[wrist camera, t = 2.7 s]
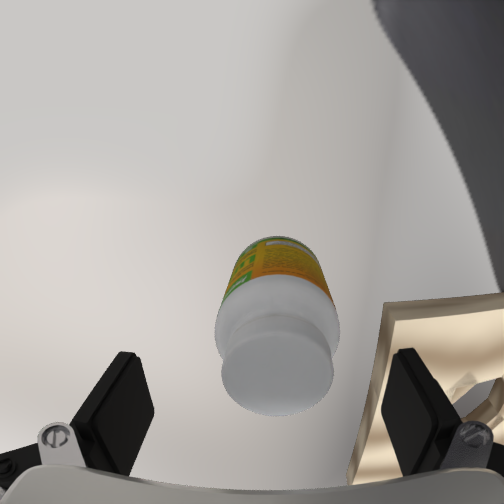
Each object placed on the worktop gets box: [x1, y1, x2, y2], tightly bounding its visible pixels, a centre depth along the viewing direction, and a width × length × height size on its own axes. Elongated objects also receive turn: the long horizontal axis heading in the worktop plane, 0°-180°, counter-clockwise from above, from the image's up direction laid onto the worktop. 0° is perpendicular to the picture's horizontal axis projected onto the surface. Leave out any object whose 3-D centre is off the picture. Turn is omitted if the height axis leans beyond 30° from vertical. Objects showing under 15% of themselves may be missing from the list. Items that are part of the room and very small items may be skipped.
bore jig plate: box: [346, 292, 504, 485], centre depth 21 cm, size 20×20×2 cm
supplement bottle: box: [215, 236, 340, 416], centre depth 15 cm, size 5×5×10 cm
